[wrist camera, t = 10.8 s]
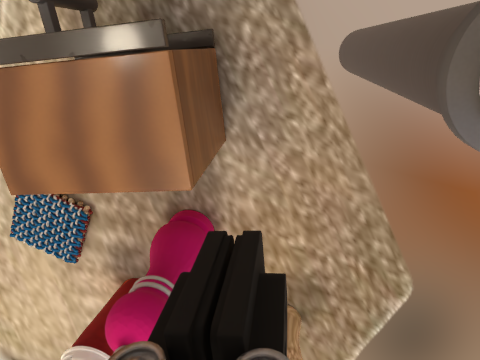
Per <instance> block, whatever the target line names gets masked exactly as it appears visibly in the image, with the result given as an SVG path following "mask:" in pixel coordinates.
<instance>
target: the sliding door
mask: <svg viewBox="0 0 480 360" xmlns="http://www.w3.org/2000/svg"><path fill="white" fill-rule="evenodd" d="M29 1H31V2H32V3H37V5H38V8H39V11H40V15H41V18H42V21H43V25H44V28H45V32H46V33H51V32H59V31H61V28H60V24H59V20H58V17H57V13H56V10H55V7H61V8H67V9H73V10H79V11H80V14H81V18H82V22H83V26H84V28H90V27H96V22H95V18H94V14H93V12H95V11H96V10H97V8H98V2H97V0H29ZM132 51H133V50H132ZM123 52H124V51H123ZM113 53H115V52H113ZM104 54H105V53H104ZM95 55H96V54H95ZM86 56H87V55H86ZM77 57H78V56H77ZM68 58H69V57H68Z"/></svg>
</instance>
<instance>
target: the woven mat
mask: <svg viewBox="0 0 480 360" xmlns="http://www.w3.org/2000/svg"><path fill="white" fill-rule="evenodd" d="M67 198H68V196H66V195H63V196H62V198H60V194H39V195H16V197H15V201H17V202H15V206H16V207H14V215H15V216H13V217H12V219H15V220H13V221H12V224H14V225H12V226H11V228H13V229H11V234H10V236H11V237H15V238H16V240H19V241H23V242H24V243H27V244H28V245H30V247H32V246H34V248H37V249H39V250H40V249H43V251H44V252H45V253H47V254H52V255H53V256H54V255H55V256H56V257H57V258H60V259H61V258H62V260H63V261H64V260H65V262H70V263H76V262H78V260H79V259H77V258H78V257H80V256H81V254H80V253H81V251H80V250H81V249H82V247H81V246H82V245H83V243H82V241H84V240H85V238H84V237H85V234H84V232H85V233H86V231H87V230H86V229H87V227H88V226H87V224H89V221H88V220H89V219H90V217H89V214H92V213H93V212H92V211H91V209H90V207H89V206H87V205H85V207H82V206H83V202H82V201H79V202H78V204H77V205H75V200H74V199H72V198H70V199H68V201H66V200H67ZM28 202H29V203H28ZM82 210H83V211H82ZM25 220H26V221H25ZM81 221H82V222H81ZM78 225H79V226H78ZM15 229H16V231H15ZM12 233H14V234H12ZM28 239H29V240H30V241H29V240H28ZM59 240H60V241H59ZM48 249H49V250H48ZM51 250H52V251H51Z"/></svg>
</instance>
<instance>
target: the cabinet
mask: <svg viewBox="0 0 480 360" xmlns="http://www.w3.org/2000/svg"><path fill="white" fill-rule="evenodd" d="M211 46H215V43H214V34H213V29H208V30H200V31H191V32H182V33H174V34H167V32H166V26H165V20H164V19H154V20H146V21H138V22H130V23H122V24H114V25H106V26H98V27H90V28H82V29H74V30H66V31H59V32H51V33H43V34H35V35H27V36H19V37H11V38H3V39H0V65H4V64H13V63H22V62H31V61H40V60H49V59H59V58H68V57H74V58H75V60H69V61H60V62H50V63H41V64H32V65H22V66H13V67H4V68H0V168H1V171H2V173H3V176H4V178H5V181H6V183H7V186H8V188H9V191H10V193H11V195H39V194H75V193H112V192H149V191H185V190H192V189H193V187H194V186H195V184H196V183H197V181H198V180H199V178H200V177H201V175H202V174H203V173H204V171H205V170H206V168H207V167H208V165H209V164H210V162H211V161H212V160H213V158H214V157H215V155H216V154H217V152H218V151H219V149H220V148H221V146H222V145H223V144H224V142H225V141H226V138H225V130H224V121H223V112H222V104H221V95H220V86H219V78H218V69H217V60H216V52H215V48H206V49H192V48H201V47H211ZM132 50H133V51H132ZM123 51H124V52H123ZM113 52H115V53H113ZM104 53H105V54H104ZM95 54H96V55H95ZM86 55H87V56H86ZM77 56H78V57H77Z"/></svg>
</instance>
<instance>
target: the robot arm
mask: <svg viewBox="0 0 480 360" xmlns="http://www.w3.org/2000/svg"><path fill="white" fill-rule="evenodd" d="M479 94H480V80H479ZM108 360H289V358H288V357H287V286H286V274H275V273H265V267H264V254H263V242H262V233H261V231H243V234H242V235H237V237H236V240H235V244H234V239H233V236H232V235H227V232H226V231H208V233H207V235H206V237H205V240H204V242H203V244H202V246H201V249H200V251H199V253H198V255H197V258H196V260H195V262H194V264H193V267H192V269H191V271H190V272H182V273H181V274H180V275H179V277H178V279H177V281H176V283H175V285H174V287H173V289H172V291H171V293H170V296H169V298H168V300H167V302H166V304H165V306H164V308H163V310H162V312H161V314H160V316H159V318H158V320H157V322H156V324H155V326H154V328H153V330H152V332H151V335H150V337H149V339H148V341H139V342H134V343H131V344H129V345H126V346H124V347H122V348H121V349H119V350H118V351H117V352H115V353H114V354H113V355H112V356H111V357H110V358H109V359H108Z"/></svg>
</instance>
